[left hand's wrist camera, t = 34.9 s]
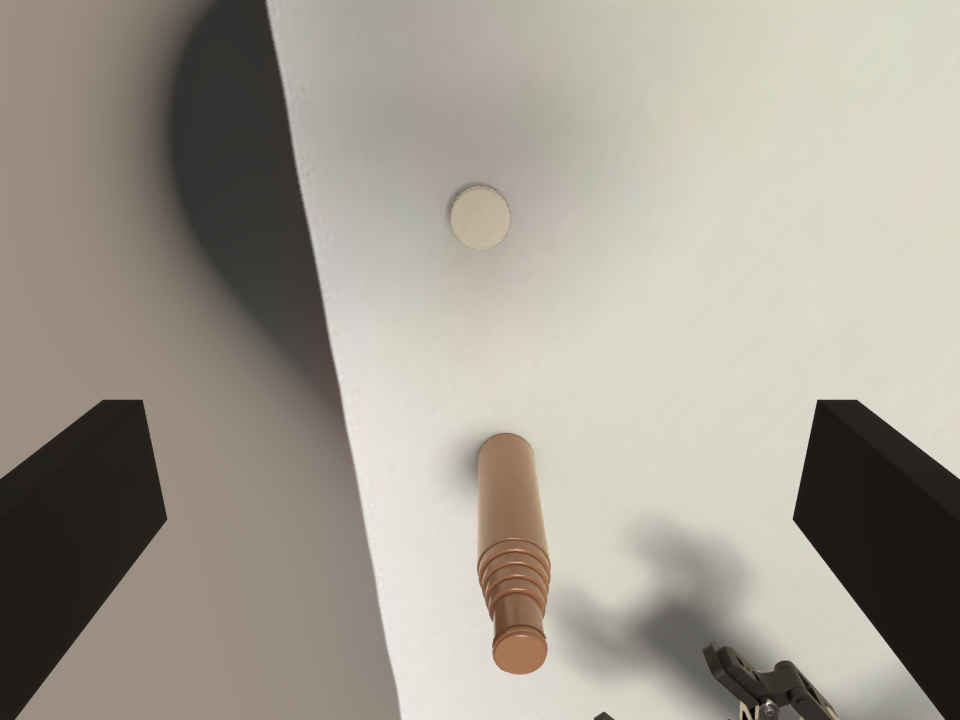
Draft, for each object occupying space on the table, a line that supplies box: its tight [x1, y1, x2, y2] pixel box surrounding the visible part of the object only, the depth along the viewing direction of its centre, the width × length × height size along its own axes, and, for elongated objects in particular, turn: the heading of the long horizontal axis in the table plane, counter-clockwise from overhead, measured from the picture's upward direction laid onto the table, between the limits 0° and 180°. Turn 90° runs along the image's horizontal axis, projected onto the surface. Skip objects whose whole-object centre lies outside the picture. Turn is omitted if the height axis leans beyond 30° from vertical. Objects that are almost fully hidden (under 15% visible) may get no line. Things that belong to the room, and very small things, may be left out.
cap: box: [450, 185, 511, 250], centre depth 42 cm, size 4×4×2 cm
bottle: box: [477, 434, 551, 675], centre depth 40 cm, size 4×4×19 cm
